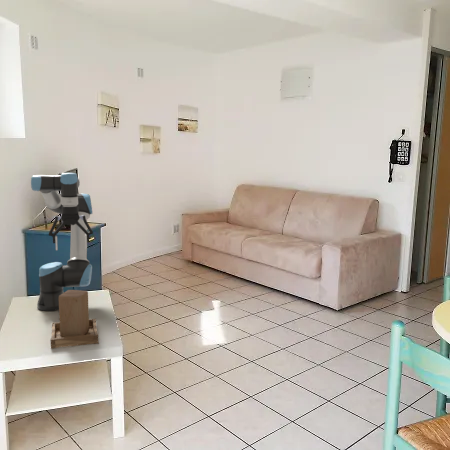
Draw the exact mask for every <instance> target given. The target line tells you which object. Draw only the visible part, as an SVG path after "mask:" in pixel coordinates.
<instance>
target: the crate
mask: <svg viewBox="0 0 450 450" xmlns="http://www.w3.org/2000/svg"><path fill="white" fill-rule="evenodd" d="M95 344H100V343H99V333H98V329H97V318H91V319H90V318H89V332H87V333H86V334H85V335H81V336H71V337H61V336H60V321H58V322H56V321H55V322H51V337H50V349H57V348H58V349H59V348H66V347H75V346H77V347H78V346H85V345H95Z"/></svg>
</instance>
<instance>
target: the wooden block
mask: <svg viewBox="0 0 450 450" xmlns="http://www.w3.org/2000/svg"><path fill="white" fill-rule="evenodd" d="M63 292H64V291H63ZM58 311H59V312H58V313H59V314H58V315H59V322H60V336H61V337H71V336H81V335H85V334H86V333H87V332H89V319H90V317H89V315H90V313H89V292H88V290H80V289H67V290H66V291H65V292H64V293H63V294H61V295H60V296H59V310H58Z"/></svg>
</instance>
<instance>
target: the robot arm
mask: <svg viewBox="0 0 450 450" xmlns="http://www.w3.org/2000/svg"><path fill="white" fill-rule="evenodd" d="M30 179H31V180H30V187H31V190H32V191H34V192H40V194H41V196H42V198H43V199H44V200H43V203H44V205H45V207H46V208H47V209H49V210H50V211H51V212H54V213H56V214H59V215H61V216H59V215H55V217H54V222H53V223H52V225H51V228H50V230H49V232H48V236H51V237H52V243H53V244H55V251H58V248H59V247H58V234H59V233H60V231H61V230H62V229H63V228H64V227H65V226H70V250H69V251H70V252H69V257H70V258H69V259H68V260H67V262H66V265H63V263H62V262H59V261H54V262H49V263H46V264H43V265H41V266H40V267H39V269H38V270H39V271H38V273H39V274H38V277H39V296H38V299H37V304H36V305H37V309H38V310H39V311H44V312H49V311H50V312H52V311H59V296H60V295H61V294H63V293H64V288H73V287H74V288H79V287H80V288H81V287H82V288H83V287H87V286H89V285H90V284H91V281H92V274H93V265H92V264H91V263H90V260H88V259H87V254H88V253H87V252H88V251H87V250H88V243H89V242H90V236H91V235H93V233H94V232H93V231H94V230H93V229H92V228H91V225H89V223H88V219H90V217H91V215H93V207H92V200H91V195H90V194H87V193H78V191H79V187H80V179H79V177H78V174H77V173H75V172H62V173H61V174H59V175H50V174H49V175H48V174H47V175H46V174H36V175H32V176H31V178H30ZM59 191H60V193H59ZM60 220H62V222H61V223H60V225H59V226H58V227H57V229H55V227H56V226H57V224H58V221H60ZM54 230H55V231H54Z"/></svg>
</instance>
